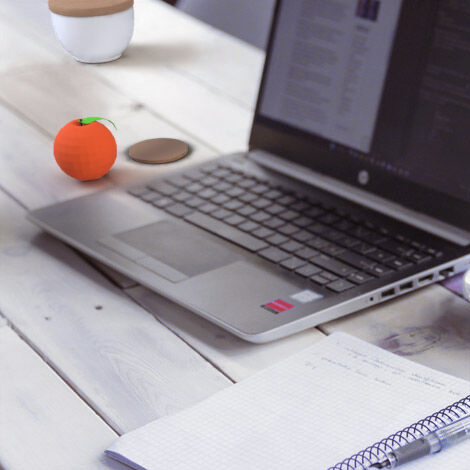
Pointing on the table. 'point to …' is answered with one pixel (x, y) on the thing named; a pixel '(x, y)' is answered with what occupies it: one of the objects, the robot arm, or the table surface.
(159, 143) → the cork coaster
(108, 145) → the clementine
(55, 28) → the lidded bowl
